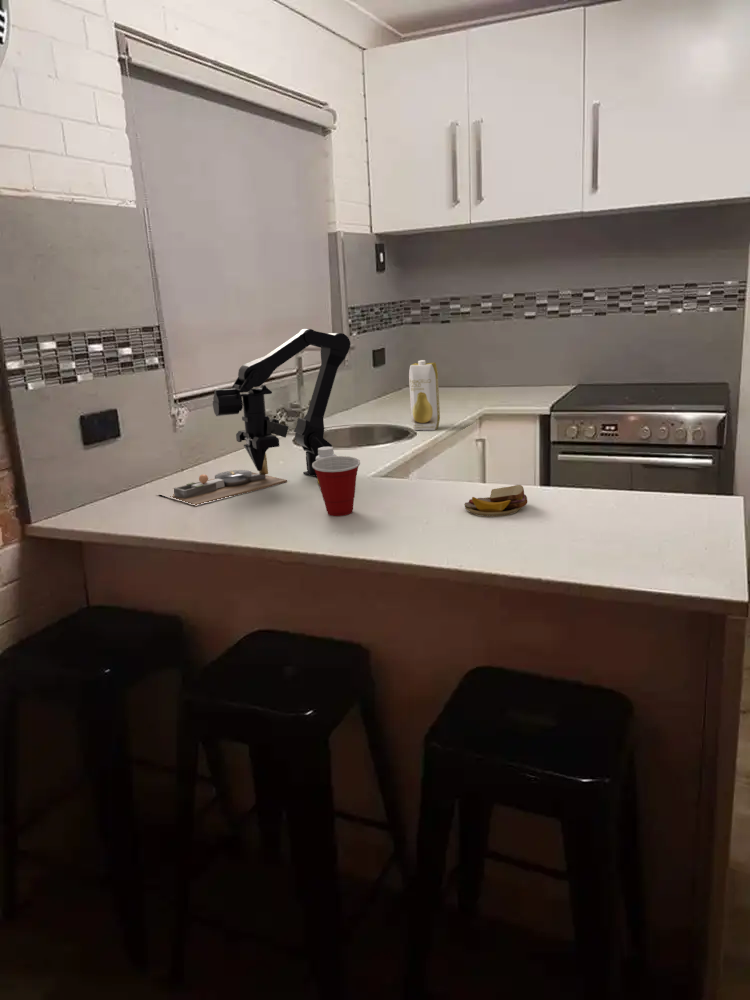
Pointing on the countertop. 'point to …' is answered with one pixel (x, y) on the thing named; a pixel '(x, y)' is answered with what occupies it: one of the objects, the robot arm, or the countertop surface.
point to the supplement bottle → (325, 454)
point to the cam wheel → (242, 475)
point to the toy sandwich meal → (498, 502)
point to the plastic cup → (337, 483)
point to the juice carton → (424, 395)
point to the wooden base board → (221, 490)
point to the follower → (204, 481)
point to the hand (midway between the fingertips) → (259, 470)
